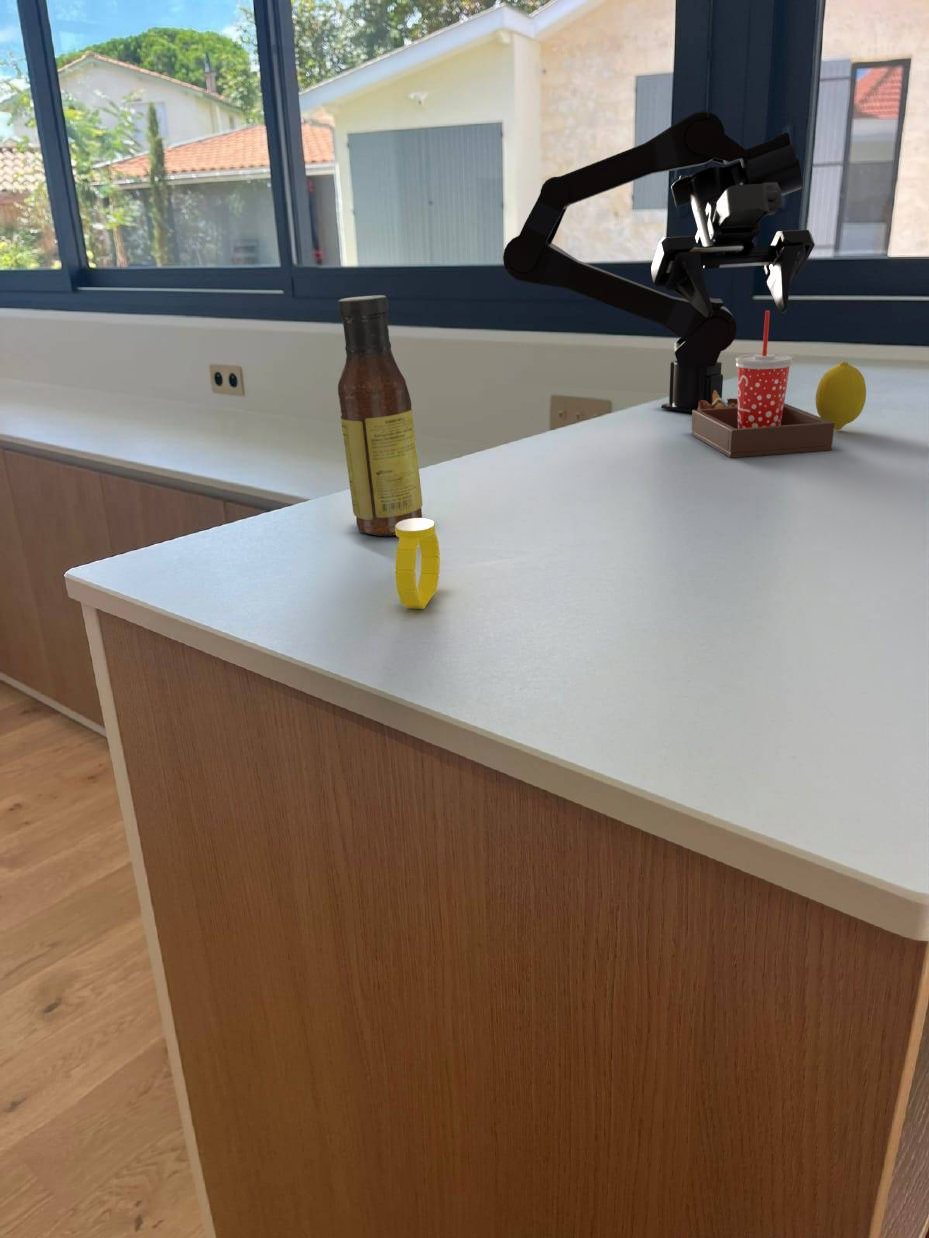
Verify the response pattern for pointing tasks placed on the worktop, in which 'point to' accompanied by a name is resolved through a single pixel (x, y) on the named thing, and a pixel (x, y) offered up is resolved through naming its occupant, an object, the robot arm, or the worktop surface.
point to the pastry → (718, 402)
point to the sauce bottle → (376, 421)
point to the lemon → (841, 395)
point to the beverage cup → (762, 386)
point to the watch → (410, 538)
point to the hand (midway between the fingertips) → (747, 312)
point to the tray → (762, 433)
